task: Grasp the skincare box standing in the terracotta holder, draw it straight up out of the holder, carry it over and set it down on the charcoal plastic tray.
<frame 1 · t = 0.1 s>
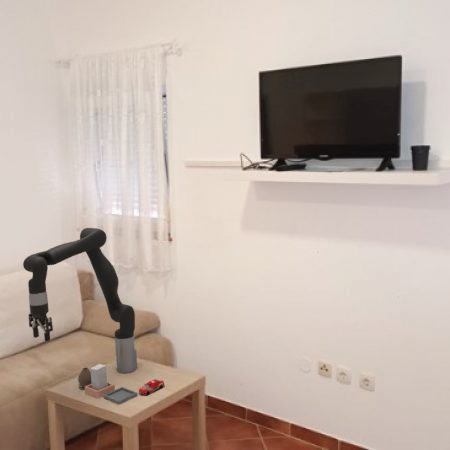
hand: (41, 338, 243), 29 cm above the table, fingers open, 8 cm apart
holder: (100, 391, 256), on the table
race car: (151, 391, 256), on the table
skincare box: (100, 392, 256), resting in holder
tray: (120, 397, 250), on the table
vase: (86, 386, 263), on the table
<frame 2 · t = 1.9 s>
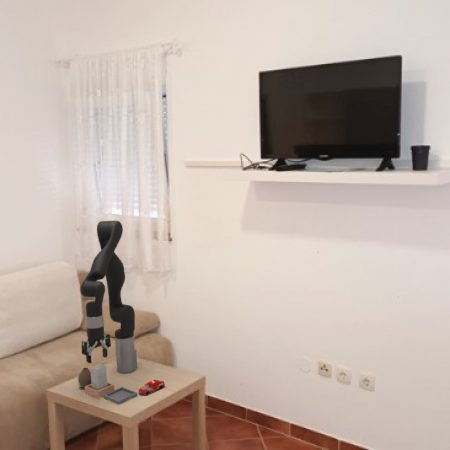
hand: (97, 360, 254), 15 cm above the table, fingers open, 8 cm apart
nothing on the table moved.
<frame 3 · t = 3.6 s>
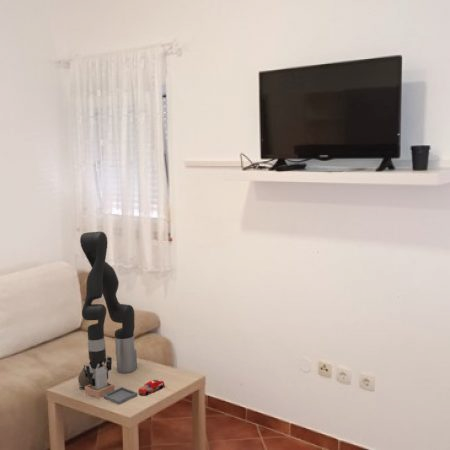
hand: (99, 383, 256), 4 cm above the table, fingers closed on skincare box, 6 cm apart
skincare box: (100, 392, 256), resting in holder, touching gripper
everything else where it was.
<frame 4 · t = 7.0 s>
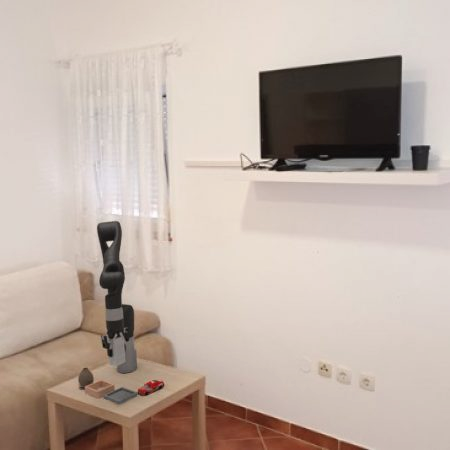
hand: (116, 354, 247), 20 cm above the table, fingers closed on skincare box, 6 cm apart
skincare box: (117, 363, 248), point 15 cm above the table, touching gripper
everything else where it was.
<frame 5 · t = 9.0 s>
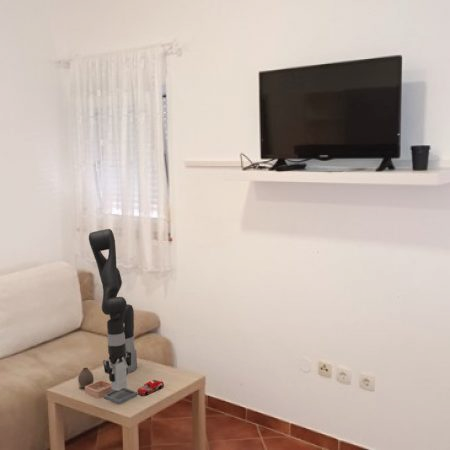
hand: (118, 378, 249), 9 cm above the table, fingers closed on skincare box, 6 cm apart
skincare box: (119, 388, 249), point 4 cm above the table, touching gripper
everything else where it was.
when the fingers open (6 cm above the table, at t = 10.5 s): skincare box drops 1 cm, resting on tray.
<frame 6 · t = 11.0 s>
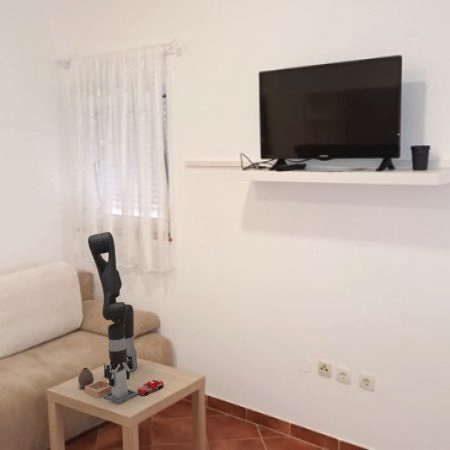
hand: (119, 382, 249), 7 cm above the table, fingers open, 8 cm apart
skincare box: (119, 396, 250), resting on tray
everything else where it was.
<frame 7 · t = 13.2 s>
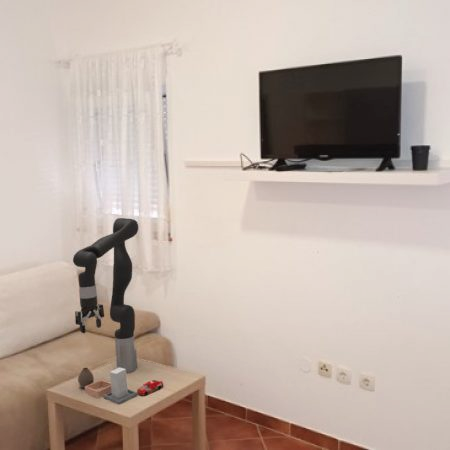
hand: (91, 330, 256), 28 cm above the table, fingers open, 8 cm apart
nothing on the table moved.
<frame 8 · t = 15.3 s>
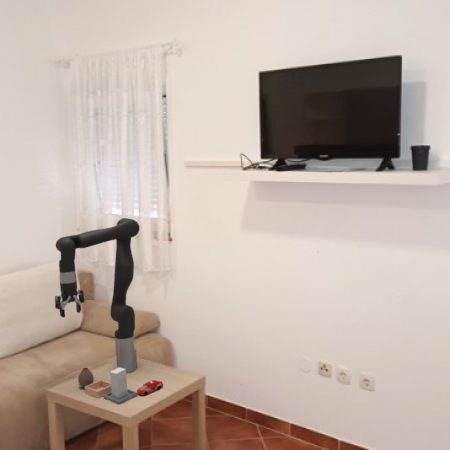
hand: (70, 314, 263), 33 cm above the table, fingers open, 8 cm apart
nothing on the table moved.
at the end: skincare box inside the target area on the tray (0.4 cm from its centre), point 0.3 cm above the tray's base; the gripper is holding nothing; skincare box moved 12.0 cm from its start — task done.
